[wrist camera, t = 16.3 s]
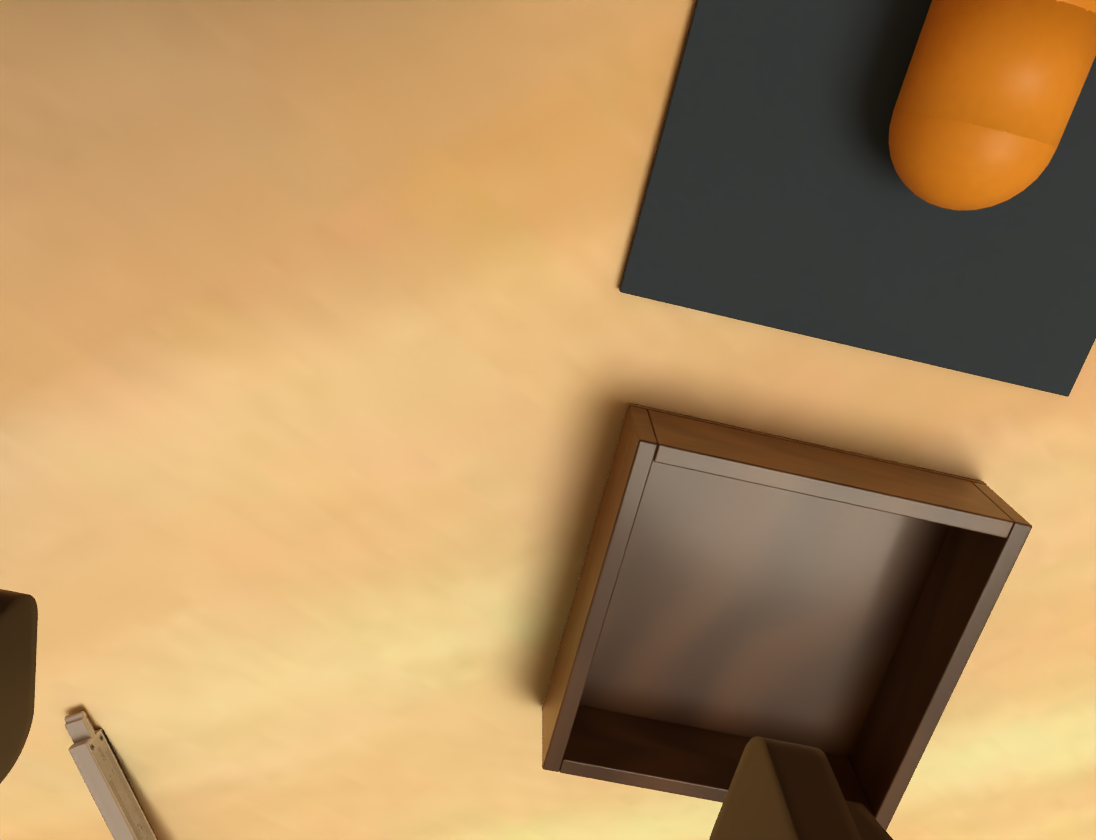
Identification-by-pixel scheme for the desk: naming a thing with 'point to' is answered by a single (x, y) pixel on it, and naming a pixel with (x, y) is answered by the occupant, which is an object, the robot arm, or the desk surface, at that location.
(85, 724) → the caliper
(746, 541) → the wooden tray
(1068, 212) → the desk pad
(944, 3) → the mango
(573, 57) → the desk surface
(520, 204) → the desk surface
